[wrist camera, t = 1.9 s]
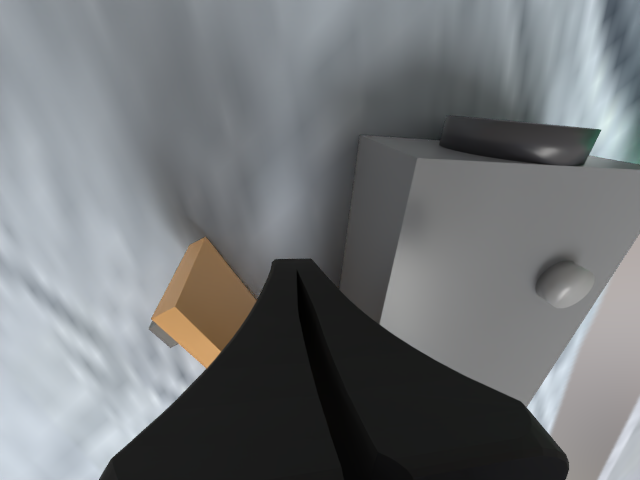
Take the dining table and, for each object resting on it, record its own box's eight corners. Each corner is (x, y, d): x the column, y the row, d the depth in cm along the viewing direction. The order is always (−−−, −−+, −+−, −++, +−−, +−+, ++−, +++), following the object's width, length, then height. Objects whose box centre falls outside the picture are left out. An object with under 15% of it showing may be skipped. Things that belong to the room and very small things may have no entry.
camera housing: (446, 375, 20) (504, 465, 15) (325, 388, 19) (347, 493, 14) (551, 124, 13) (730, 141, 8) (363, 108, 11) (440, 117, 6)
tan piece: (330, 387, 18) (348, 470, 14) (306, 398, 18) (318, 484, 14) (209, 234, 12) (180, 303, 8) (175, 252, 12) (130, 329, 8)
